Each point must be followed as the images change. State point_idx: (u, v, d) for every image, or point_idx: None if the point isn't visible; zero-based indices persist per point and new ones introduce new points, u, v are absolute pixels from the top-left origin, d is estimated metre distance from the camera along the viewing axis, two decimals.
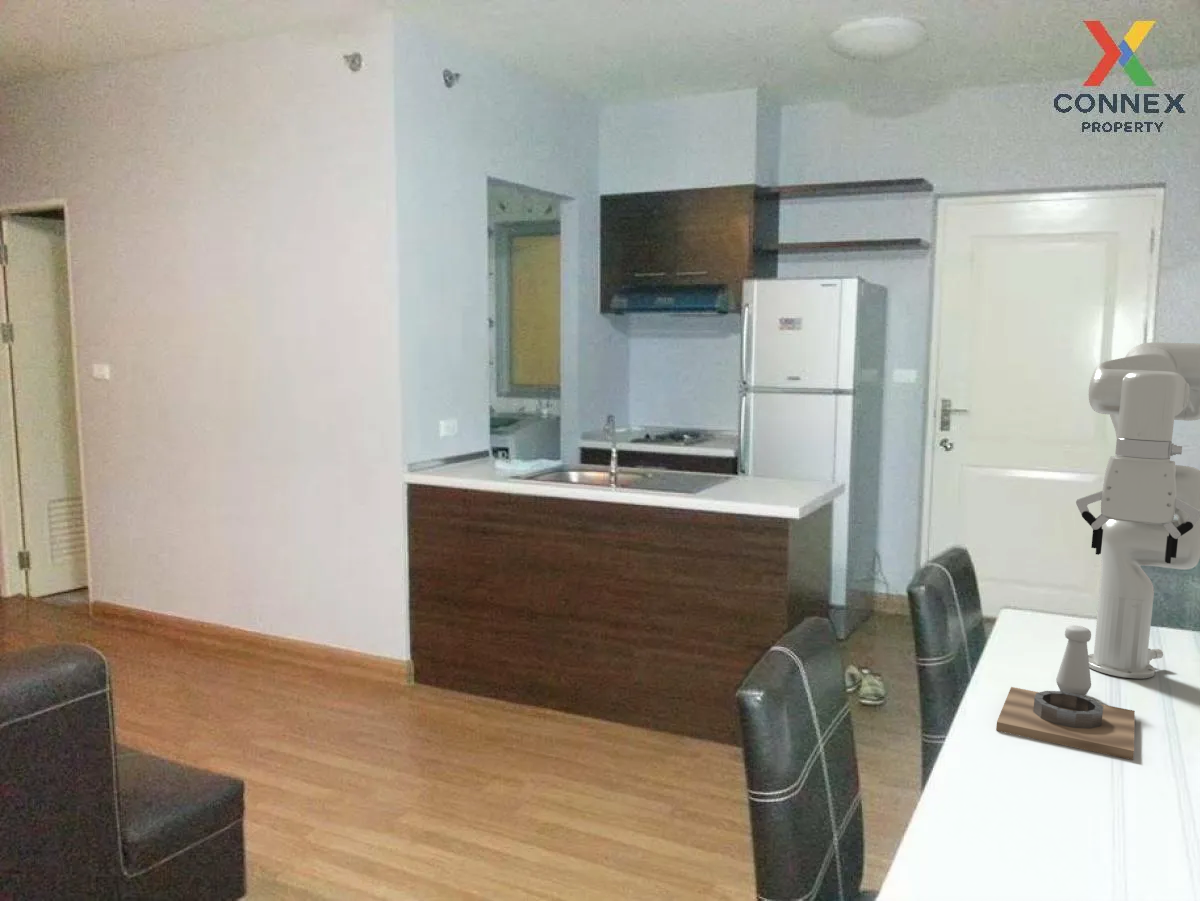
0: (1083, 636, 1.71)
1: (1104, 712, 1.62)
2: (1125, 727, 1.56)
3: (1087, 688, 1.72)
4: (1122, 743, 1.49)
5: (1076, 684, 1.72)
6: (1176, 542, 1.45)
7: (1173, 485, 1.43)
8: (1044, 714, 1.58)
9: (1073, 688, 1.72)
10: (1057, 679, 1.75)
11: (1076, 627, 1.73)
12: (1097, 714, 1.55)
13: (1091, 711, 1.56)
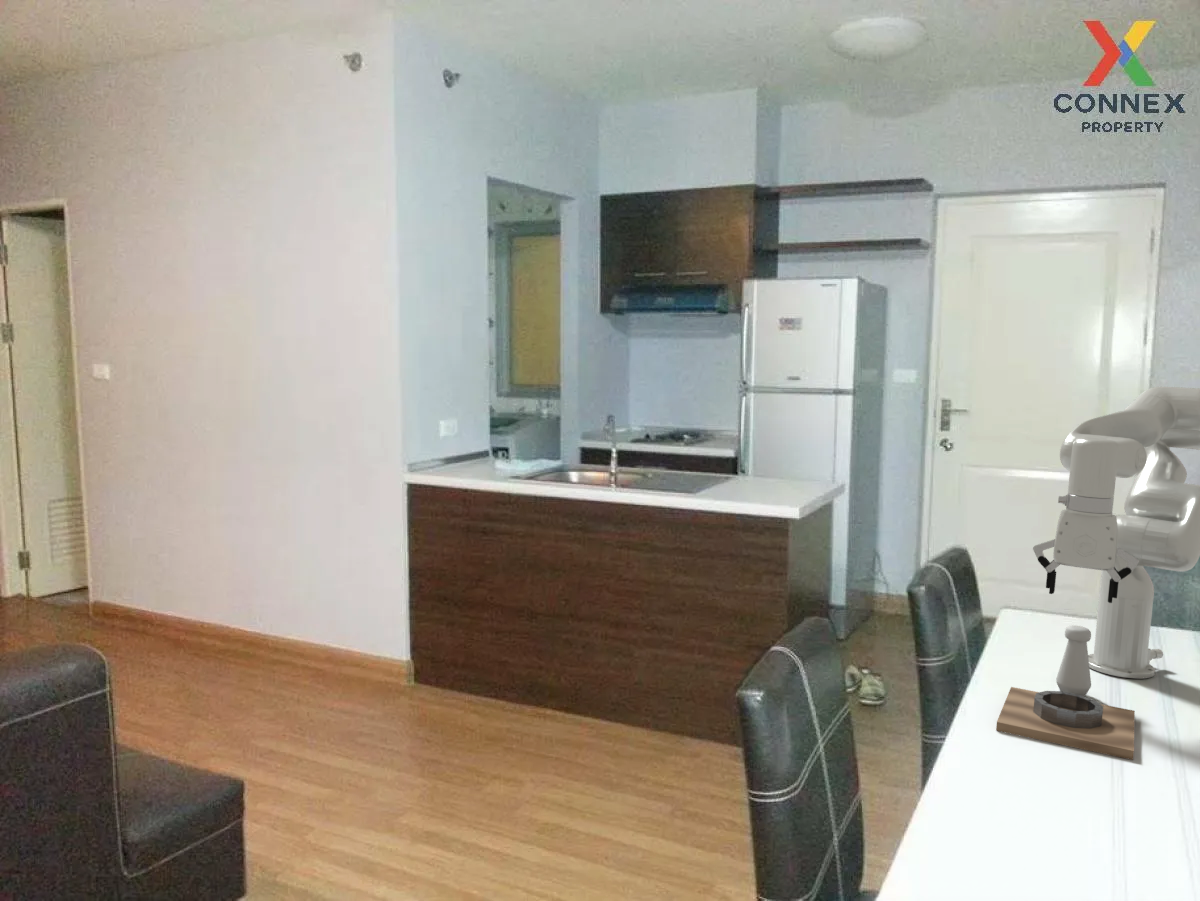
0: (1083, 636, 1.71)
1: (1104, 712, 1.62)
2: (1125, 727, 1.56)
3: (1087, 688, 1.72)
4: (1122, 743, 1.49)
5: (1076, 684, 1.72)
6: None
7: None
8: (1044, 714, 1.58)
9: (1073, 688, 1.72)
10: (1057, 679, 1.75)
11: (1076, 627, 1.73)
12: (1097, 714, 1.55)
13: (1091, 711, 1.56)
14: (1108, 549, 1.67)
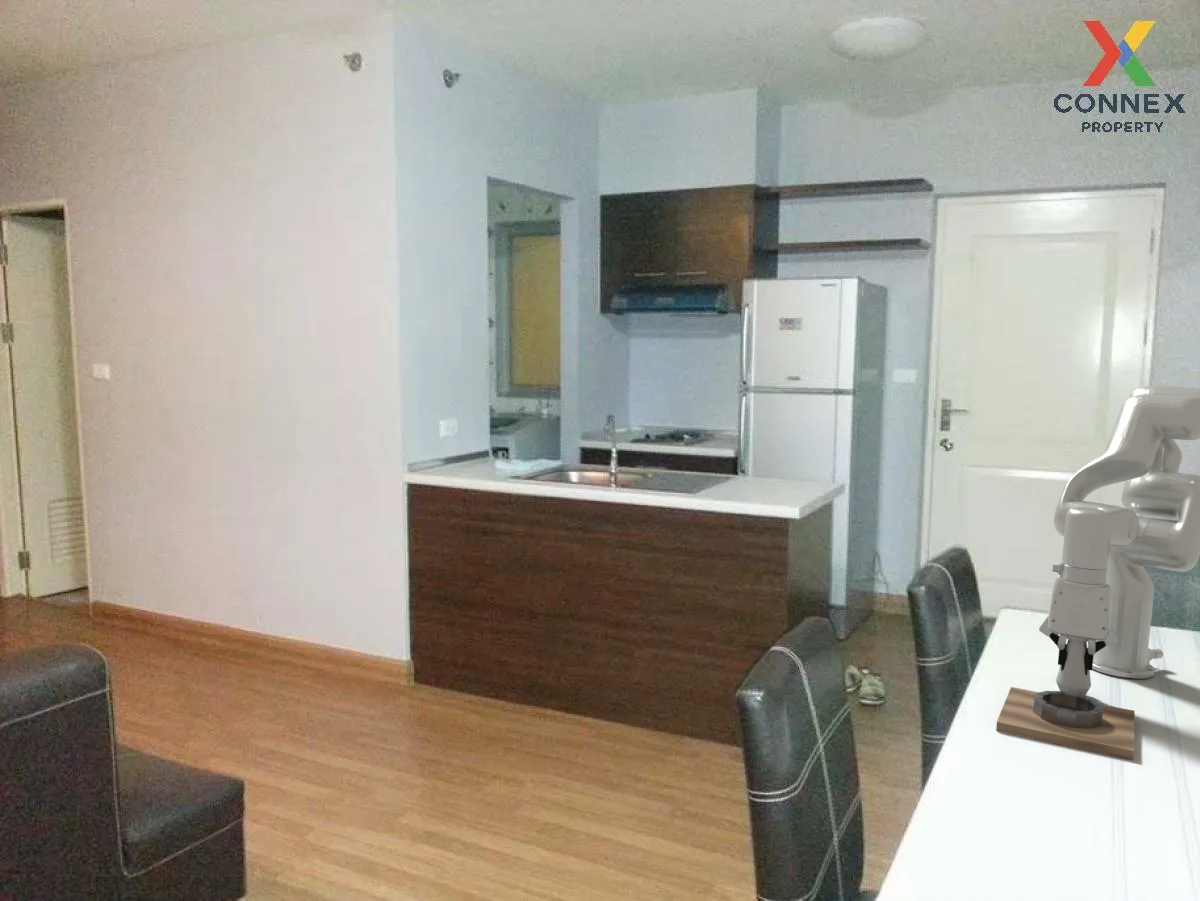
0: None
1: (1104, 712, 1.62)
2: (1125, 727, 1.56)
3: (1087, 688, 1.72)
4: (1122, 743, 1.49)
5: (1076, 684, 1.72)
6: None
7: None
8: (1044, 714, 1.58)
9: (1073, 688, 1.72)
10: (1057, 679, 1.75)
11: None
12: (1097, 714, 1.55)
13: (1091, 711, 1.56)
14: (1102, 619, 1.69)
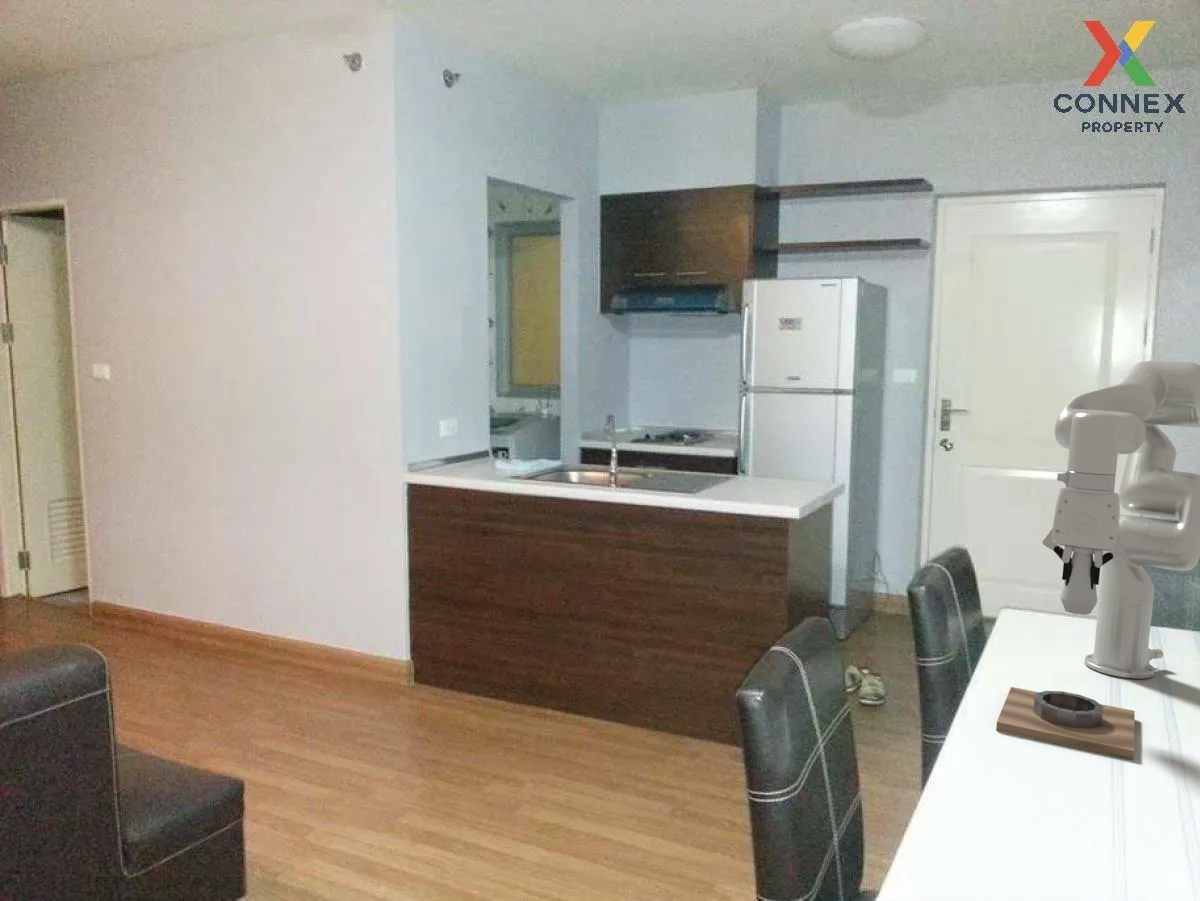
0: None
1: (1104, 712, 1.62)
2: (1125, 727, 1.56)
3: (1093, 603, 1.62)
4: (1122, 743, 1.49)
5: (1081, 598, 1.62)
6: None
7: None
8: (1044, 714, 1.58)
9: (1078, 603, 1.62)
10: (1061, 595, 1.65)
11: None
12: (1097, 714, 1.55)
13: (1091, 711, 1.56)
14: (1109, 528, 1.59)
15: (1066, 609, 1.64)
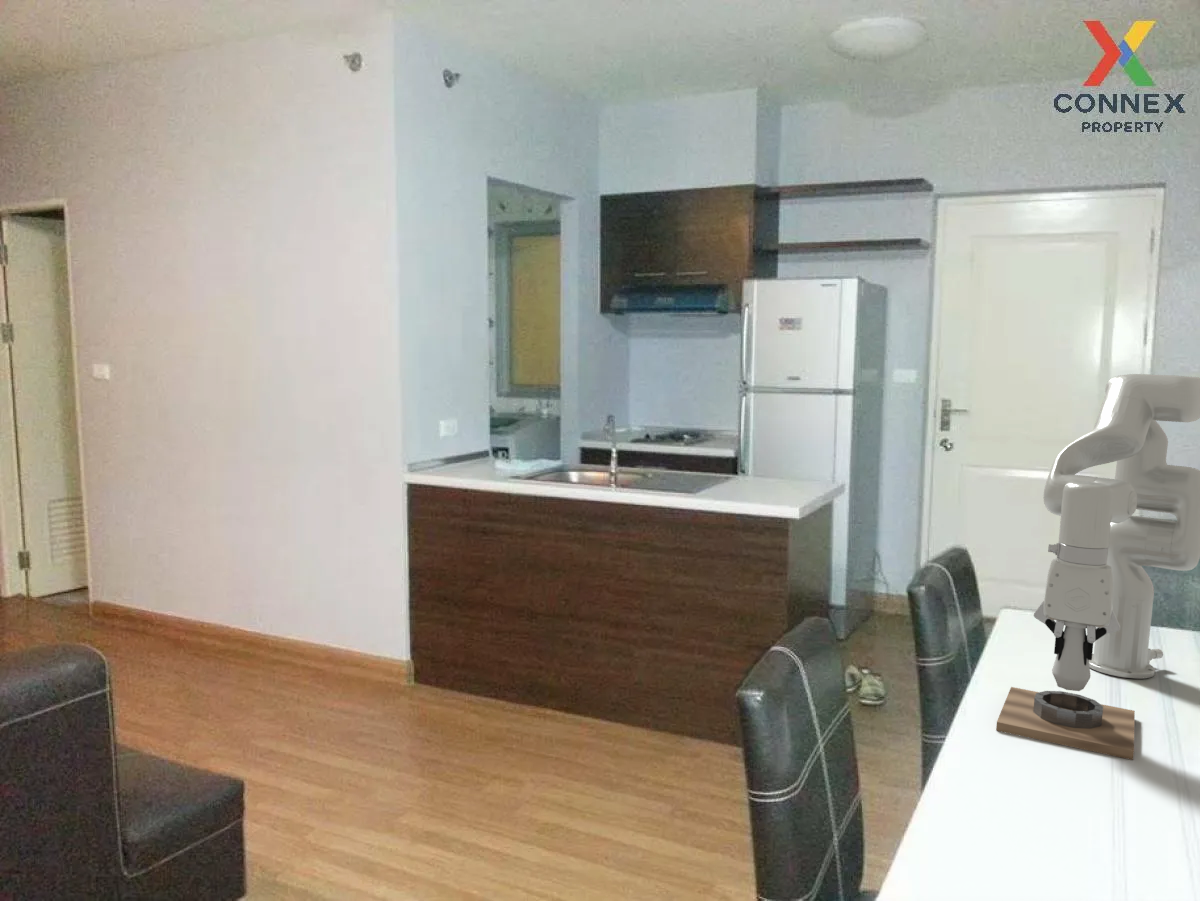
0: None
1: (1104, 712, 1.62)
2: (1125, 727, 1.56)
3: (1086, 679, 1.57)
4: (1122, 743, 1.49)
5: (1074, 675, 1.56)
6: None
7: None
8: (1044, 714, 1.58)
9: (1071, 679, 1.56)
10: (1053, 670, 1.59)
11: None
12: (1097, 714, 1.55)
13: (1091, 711, 1.56)
14: (1102, 604, 1.53)
15: (1058, 685, 1.59)
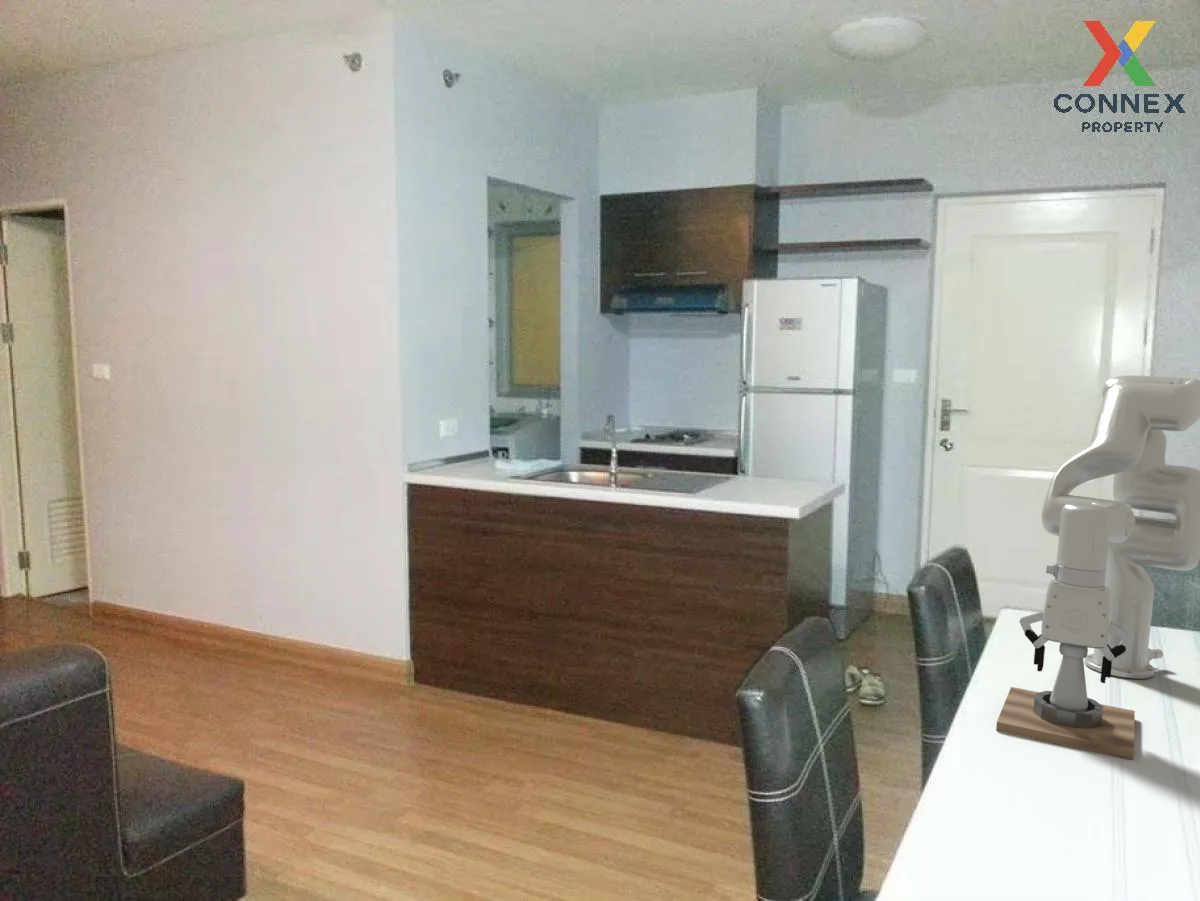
0: (1079, 652, 1.57)
1: (1104, 712, 1.62)
2: (1125, 727, 1.56)
3: (1083, 709, 1.57)
4: (1122, 743, 1.49)
5: (1071, 704, 1.57)
6: None
7: None
8: (1044, 714, 1.58)
9: (1068, 709, 1.57)
10: (1051, 699, 1.60)
11: None
12: (1097, 714, 1.55)
13: (1091, 711, 1.56)
14: (1100, 626, 1.54)
15: None
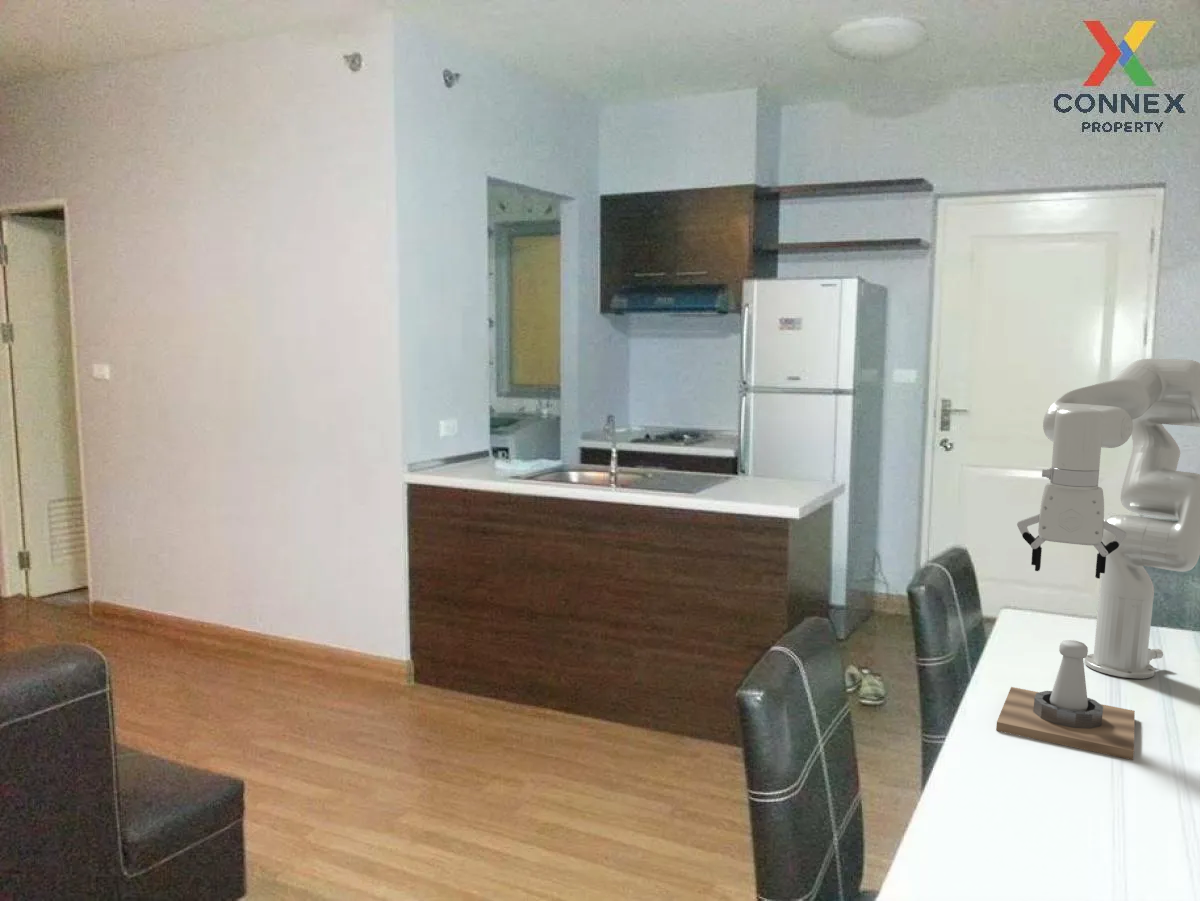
0: (1079, 652, 1.57)
1: (1104, 712, 1.62)
2: (1125, 727, 1.56)
3: (1083, 709, 1.57)
4: (1122, 743, 1.49)
5: (1071, 704, 1.57)
6: None
7: None
8: (1044, 714, 1.58)
9: (1068, 709, 1.57)
10: (1051, 698, 1.60)
11: (1071, 642, 1.58)
12: (1097, 714, 1.55)
13: (1091, 711, 1.56)
14: (1095, 523, 1.61)
15: None
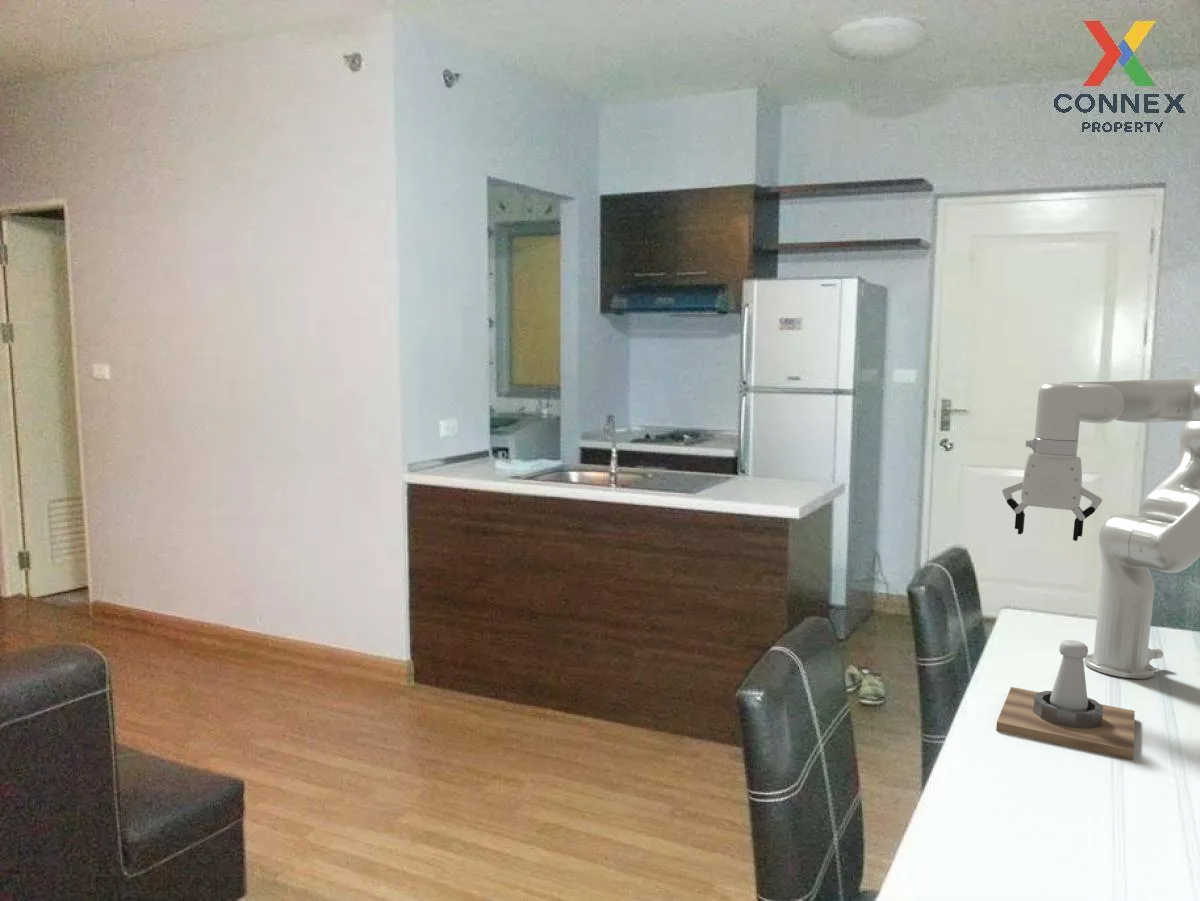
0: (1079, 652, 1.57)
1: (1104, 712, 1.62)
2: (1125, 727, 1.56)
3: (1083, 709, 1.57)
4: (1122, 743, 1.49)
5: (1071, 704, 1.57)
6: None
7: None
8: (1044, 714, 1.58)
9: (1068, 709, 1.57)
10: (1051, 698, 1.60)
11: (1071, 642, 1.58)
12: (1097, 714, 1.55)
13: (1091, 711, 1.56)
14: (1072, 489, 1.75)
15: None
